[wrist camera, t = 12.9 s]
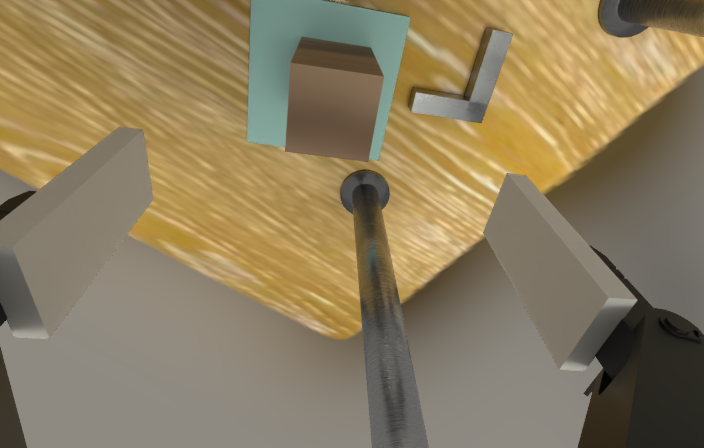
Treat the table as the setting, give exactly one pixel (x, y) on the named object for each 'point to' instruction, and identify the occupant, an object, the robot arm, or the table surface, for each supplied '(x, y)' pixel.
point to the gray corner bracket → (478, 86)
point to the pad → (319, 23)
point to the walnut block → (333, 99)
